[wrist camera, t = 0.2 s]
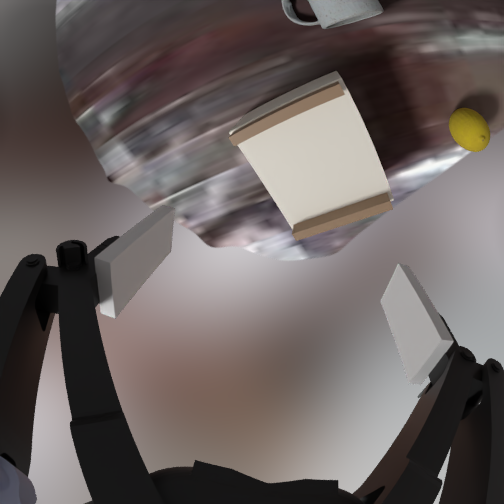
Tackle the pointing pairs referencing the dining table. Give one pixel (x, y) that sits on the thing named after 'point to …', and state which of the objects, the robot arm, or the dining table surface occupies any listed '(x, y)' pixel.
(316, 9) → the ceramic mug
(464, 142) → the lemon
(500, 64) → the dining table surface
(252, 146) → the display stand
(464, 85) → the dining table surface
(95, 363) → the robot arm
